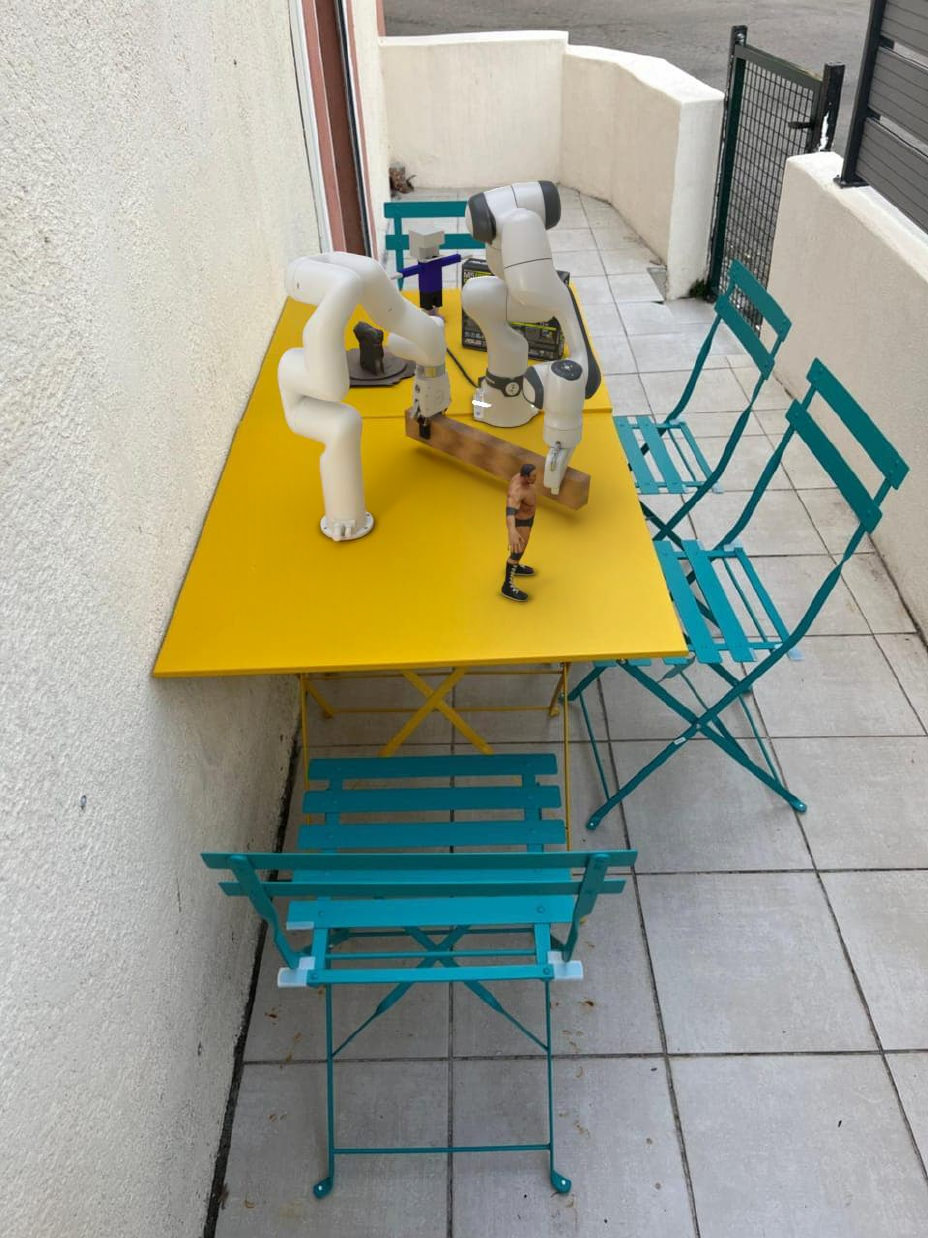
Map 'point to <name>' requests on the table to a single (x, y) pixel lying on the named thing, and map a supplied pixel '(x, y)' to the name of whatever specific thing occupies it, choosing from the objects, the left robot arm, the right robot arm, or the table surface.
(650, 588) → the table surface
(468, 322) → the box
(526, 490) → the figurine
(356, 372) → the sculpture
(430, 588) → the table surface
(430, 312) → the toy
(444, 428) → the post
